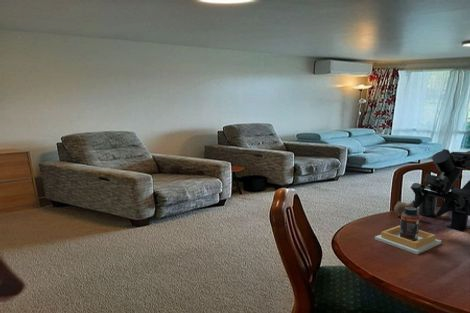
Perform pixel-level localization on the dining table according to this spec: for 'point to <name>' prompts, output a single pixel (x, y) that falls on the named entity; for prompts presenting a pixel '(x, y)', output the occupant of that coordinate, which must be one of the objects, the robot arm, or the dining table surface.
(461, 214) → the robot arm
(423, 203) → the supplement bottle
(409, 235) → the supplement bottle
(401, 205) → the oil lamp
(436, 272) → the dining table surface
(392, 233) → the plate
